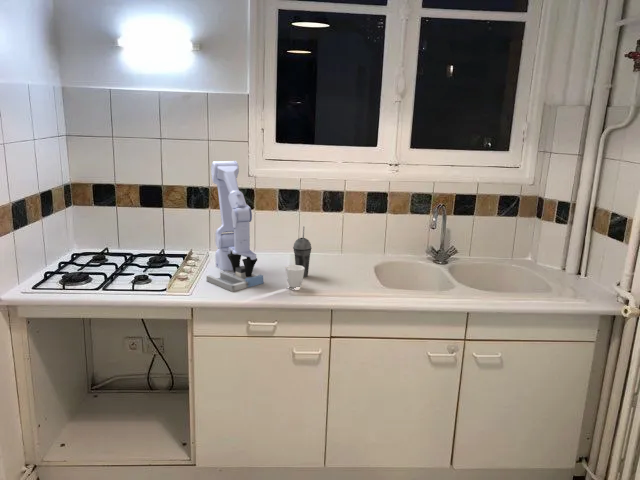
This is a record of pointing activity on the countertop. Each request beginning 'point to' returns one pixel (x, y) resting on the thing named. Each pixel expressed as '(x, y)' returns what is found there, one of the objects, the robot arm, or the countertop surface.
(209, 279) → the grey tray
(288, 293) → the countertop surface
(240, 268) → the grey rectangular block
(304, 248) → the beverage cup
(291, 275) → the cup
